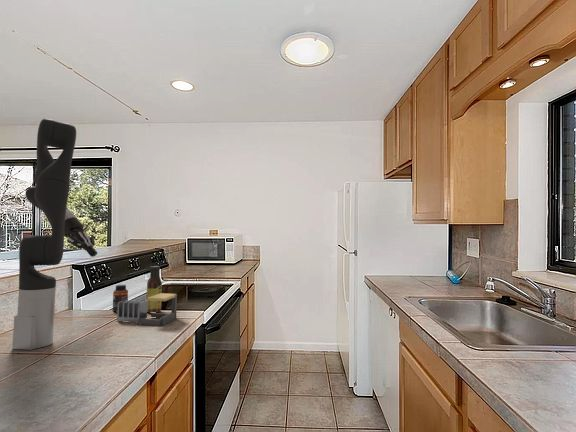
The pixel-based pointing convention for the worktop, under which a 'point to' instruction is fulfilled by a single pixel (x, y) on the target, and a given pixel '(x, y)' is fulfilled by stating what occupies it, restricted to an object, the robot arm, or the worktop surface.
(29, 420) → the worktop surface
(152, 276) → the sauce bottle
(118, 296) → the supplement bottle
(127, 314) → the heatsink block
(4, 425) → the worktop surface
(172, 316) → the grey and yellow stand
